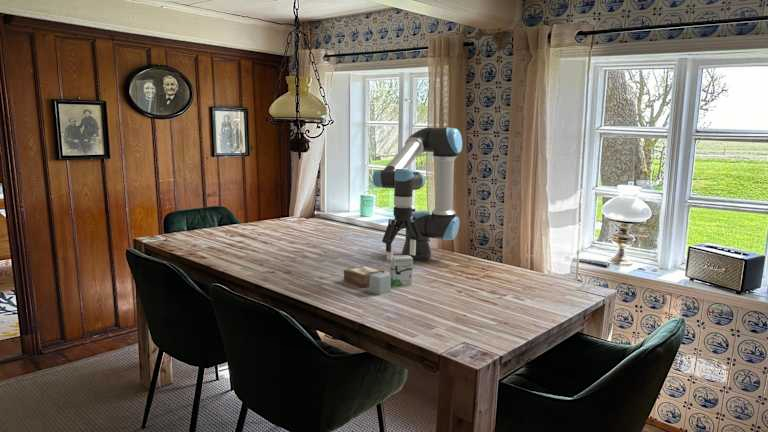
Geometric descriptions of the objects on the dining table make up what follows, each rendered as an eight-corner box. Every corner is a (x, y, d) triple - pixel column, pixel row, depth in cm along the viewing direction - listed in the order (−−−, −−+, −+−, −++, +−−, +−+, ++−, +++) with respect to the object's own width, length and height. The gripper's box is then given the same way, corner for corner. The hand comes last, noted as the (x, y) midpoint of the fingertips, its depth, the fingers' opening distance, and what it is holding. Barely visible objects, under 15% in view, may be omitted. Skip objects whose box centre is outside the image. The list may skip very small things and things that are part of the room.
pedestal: (365, 276, 233) (365, 264, 232) (384, 282, 225) (384, 270, 224) (343, 281, 225) (344, 269, 224) (362, 288, 217) (362, 275, 216)
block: (380, 288, 216) (380, 271, 215) (390, 292, 212) (390, 275, 211) (369, 291, 212) (369, 274, 211) (379, 295, 208) (379, 277, 207)
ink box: (392, 286, 220) (393, 258, 218) (389, 282, 224) (389, 255, 222) (412, 285, 222) (413, 257, 220) (408, 281, 227) (409, 254, 225)
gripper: (416, 203, 229) (415, 251, 232) (374, 207, 212) (373, 259, 215) (429, 205, 224) (428, 254, 227) (387, 209, 207) (385, 263, 210)
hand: (401, 257), depth 221 cm, fingers open, 13 cm apart
